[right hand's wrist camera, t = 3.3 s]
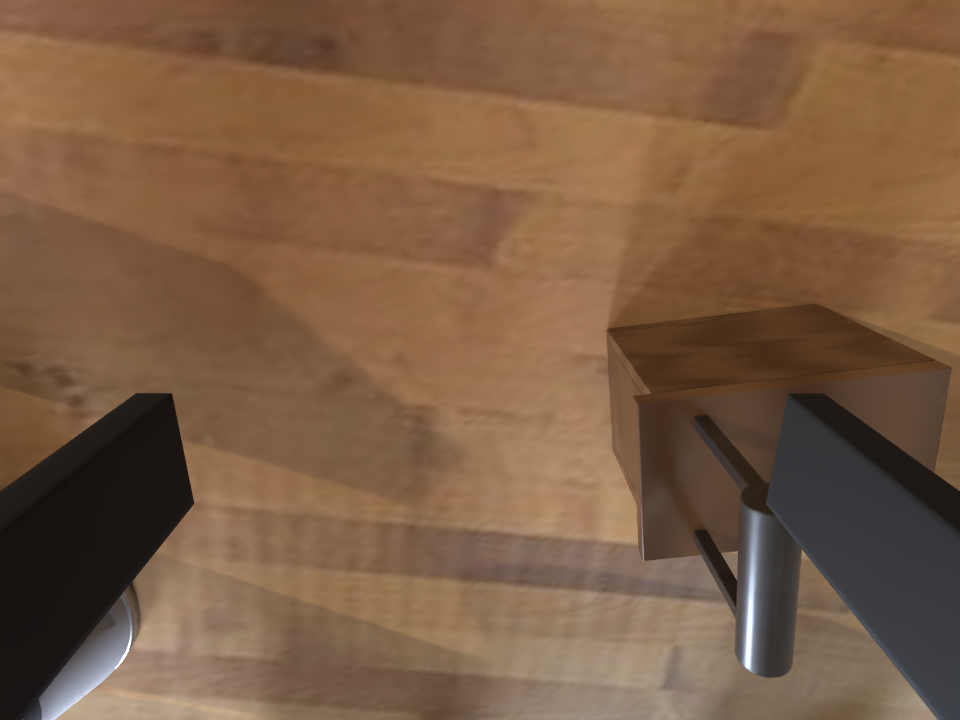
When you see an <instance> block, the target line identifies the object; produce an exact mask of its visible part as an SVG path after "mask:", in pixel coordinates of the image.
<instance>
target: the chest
mask: <svg viewBox="0 0 960 720" xmlns="http://www.w3.org/2000/svg"><path fill="white" fill-rule="evenodd" d="M607 347H608V366H609V384H610V403H611V421H612V440H613V452H614V454H615V456H616V459H617V461H618V463H619V465H620V468H621V470H622V472H623V475H624V477H625V479H626V481H627V484H628V486H629V488H630V490H631V493H632V495H633V497H634V500H635V502H636V504H637V496H636V470H635V444H634V419H633V396H635V395H644V394H652V393H661V392H669V391H678V390H687V389H695V388H704V387H713V386H721V385H730V384H738V383H747V382H756V381H764V380H773V379H782V378H790V377H799V376H808V375H816V374H825V373H833V372H842V371H851V370H859V369H868V368H877V367H885V366H894V365H902V364H911V363H920V362H928V361H935V359H933V358H930V357H928V356H926V355H924V354H922V353H920V352H918V351H916V350H913V349H911V348H909V347H907V346H905V345H903V344H901V343H899V342H896V341H894V340H892V339H890V338H888V337H886V336H884V335H881V334H879V333H877V332H875V331H873V330H871V329H869V328H867V327H864V326H862V325H860V324H858V323H856V322H854V321H852V320H850V319H847V318H845V317H843V316H841V315H839V314H837V313H835V312H832V311H830V310H828V309H826V308H824V307H822V306H819V305H817V304H811V305H803V306H794V307H786V308H778V309H769V310H761V311H753V312H745V313H736V314H728V315H720V316H712V317H703V318H695V319H687V320H679V321H670V322H662V323H654V324H646V325H637V326H629V327H621V328H613V329H607Z"/></svg>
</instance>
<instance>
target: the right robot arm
mask: <svg viewBox="0 0 960 720" xmlns="http://www.w3.org/2000/svg"><path fill="white" fill-rule="evenodd" d="M193 504H194V500H193V495H192V490H191V485H190V480H189V475H188V470H187V465H186V460H185V455H184V450H183V446H182V441H181V436H180V431H179V426H178V421H177V416H176V411H175V406H174V401H173V396H172V393H136V394H135V395H133V396H132V397H130V398H129V399H128V400H126V401H125V402H123V403H122V404H121V405H119V406H118V407H117V408H115V409H114V410H112V411H111V412H110V413H108V414H107V415H105V416H104V417H103V418H101V419H100V420H99V421H97V422H96V423H94V424H93V425H92V426H90V427H89V428H87V429H86V430H85V431H83V432H82V433H81V434H79V435H78V436H76V437H75V438H74V439H72V440H71V441H69V442H68V443H67V444H65V445H64V446H63V447H61V448H60V449H58V450H57V451H56V452H54V453H53V454H51V455H50V456H49V457H47V458H46V459H45V460H43V461H42V462H40V463H39V464H38V465H36V466H35V467H33V468H32V469H31V470H29V471H28V472H27V473H25V474H24V475H22V476H21V477H20V478H18V479H17V480H15V481H14V482H13V483H11V484H10V485H9V486H7V487H6V488H4V489H3V490H2V491H0V720H54V719H56V718H57V717H58V716H60V715H61V714H62V713H63V712H65V711H66V710H67V709H68V708H70V707H71V706H72V705H73V704H75V703H76V702H77V701H78V700H80V699H81V698H82V697H83V696H85V695H86V694H87V693H88V692H90V691H91V690H92V689H93V688H95V687H96V686H97V685H99V684H100V683H101V682H102V681H104V680H105V679H106V678H107V677H108V676H109V675H110V674H111V673H112V672H113V671H114V670H115V668H116V667H117V666H118V665H119V664H120V663H121V662H122V660H123V659H124V657H125V656H126V655H127V653H128V652H129V650H130V649H131V647H132V646H133V644H134V642H135V640H136V638H137V635H138V632H139V627H140V610H139V605H138V601H137V598H136V596H135V593H134V591H133V589H132V587H131V585H130V584H131V582H132V581H133V580H134V578H135V577H136V576H137V575H138V573H139V572H140V571H141V570H142V568H143V567H144V566H145V565H146V563H147V562H148V561H149V560H150V558H151V557H152V556H153V555H154V553H155V552H156V551H157V550H158V548H159V547H160V546H161V545H162V543H163V542H164V541H165V540H166V538H167V537H168V536H169V535H170V533H171V532H172V531H173V530H174V528H175V527H176V526H177V525H178V523H179V522H180V521H181V520H182V518H183V517H184V516H185V514H186V513H187V512H188V511H189V509H190V508H191V507H192V506H193ZM766 504H767V506H768V507H769V508H770V509H771V511H772V512H773V513H774V514H775V516H776V517H777V518H778V520H779V521H780V522H781V523H782V525H783V526H784V527H785V528H786V530H787V531H788V532H789V533H790V535H791V536H792V537H793V538H794V540H795V541H796V542H797V543H798V545H799V546H800V547H801V548H802V550H803V551H804V552H805V553H806V555H807V556H808V557H809V558H810V560H811V561H812V562H813V563H814V565H815V566H816V567H817V568H818V570H819V571H820V572H821V573H822V575H823V576H824V577H825V578H826V580H827V581H828V582H829V584H830V585H831V586H832V587H833V589H834V590H835V591H836V592H837V594H838V595H839V596H840V597H841V599H842V600H843V601H844V602H845V604H846V605H847V606H848V607H849V609H850V610H851V611H852V612H853V614H854V615H855V616H856V617H857V619H858V620H859V621H860V622H861V624H862V625H863V626H864V627H865V629H866V630H867V631H868V632H869V634H870V635H871V636H872V637H873V639H874V640H875V641H876V642H877V644H878V645H879V646H880V648H881V649H882V650H883V651H884V653H885V654H886V655H887V656H888V658H889V659H890V660H891V661H892V663H893V664H894V665H895V666H896V668H897V669H898V670H899V671H900V673H901V674H902V675H903V676H904V678H905V679H906V680H907V681H908V683H909V684H910V685H911V686H912V688H913V689H914V690H915V691H916V693H917V694H918V695H919V696H920V698H921V699H922V700H923V701H924V703H925V704H926V705H927V706H928V708H929V709H930V710H931V712H932V713H933V714H934V715H935V717H936V718H937V719H938V720H960V491H958V490H957V489H956V488H954V487H953V486H951V485H950V484H949V483H947V482H946V481H945V480H943V479H942V478H940V477H939V476H938V475H936V474H935V473H933V472H932V471H931V470H929V469H928V468H927V467H925V466H924V465H922V464H921V463H920V462H918V461H917V460H915V459H914V458H913V457H911V456H910V455H909V454H907V453H906V452H904V451H903V450H902V449H900V448H899V447H897V446H896V445H895V444H893V443H892V442H891V441H889V440H888V439H886V438H885V437H884V436H882V435H881V434H879V433H878V432H877V431H875V430H874V429H873V428H871V427H870V426H868V425H867V424H866V423H864V422H863V421H861V420H860V419H859V418H857V417H856V416H855V415H853V414H852V413H850V412H849V411H848V410H846V409H845V408H843V407H842V406H841V405H839V404H838V403H837V402H835V401H834V400H832V399H831V398H830V397H828V396H827V395H825V394H824V393H788V396H787V401H786V406H785V411H784V416H783V421H782V426H781V431H780V436H779V441H778V446H777V450H776V455H775V460H774V465H773V470H772V475H771V480H770V485H769V490H768V495H767V500H766Z"/></svg>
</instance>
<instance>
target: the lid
mask: <svg viewBox="0 0 960 720" xmlns="http://www.w3.org/2000/svg"><path fill="white" fill-rule="evenodd" d="M950 375H951V367H949V366H947V365H945V364H943V363H941V362H938V361H928V362H920V363H911V364H902V365H894V366H885V367H877V368H868V369H859V370H851V371H842V372H833V373H825V374H816V375H808V376H799V377H790V378H782V379H773V380H764V381H756V382H747V383H738V384H730V385H721V386H713V387H704V388H695V389H687V390H678V391H669V392H661V393H652V394H644V395H635V396H633V419H634V444H635V470H636V496H637V521H638V547H639V551H640V554H641V556H642V559H643V561H648V560H658V559H667V558H677V557H687V556H696V555H702V557H703V559H704V561H705V563H706V564H707V566H708V568H709V570H710V572H711V574H712V575H713V577H714V579H715V581H716V583H717V585H718V586H719V588H720V590H721V592H722V594H723V596H724V598H725V599H726V601H727V603H728V605H729V607H730V609H731V610H732V612H733V614H734V616H735V618H736V632H735V653H736V656H737V658H738V660H739V661H740V663H741V664H742V665H743V666H744V667H745V668H746V669H748V670H749V671H751V672H752V673H754V674H756V675H759V676H762V677H767V678H777V677H781V676H783V675H785V674H787V673H788V672H789V671H790V669H791V667H792V664H793V652H794V639H795V627H796V614H797V602H798V589H799V577H800V564H801V552H802V548H801V547H800V546H799V545H798V543H797V542H796V541H795V540H794V538H793V537H792V536H791V535H790V533H789V532H788V531H787V530H786V528H785V527H784V526H783V525H782V523H781V522H780V521H779V520H778V518H777V517H776V516H775V514H774V513H773V512H772V511H771V509H770V508H769V507H768V506H767V504H766V500H767V495H768V490H769V485H770V480H771V475H772V470H773V465H774V460H775V455H776V450H777V446H778V441H779V436H780V431H781V426H782V421H783V416H784V411H785V406H786V401H787V396H788V393H824V394H825V395H827V396H828V397H830V398H831V399H832V400H834V401H835V402H837V403H838V404H839V405H841V406H842V407H843V408H845V409H846V410H848V411H849V412H850V413H852V414H853V415H855V416H856V417H857V418H859V419H860V420H861V421H863V422H864V423H866V424H867V425H868V426H870V427H871V428H873V429H874V430H875V431H877V432H878V433H879V434H881V435H882V436H884V437H885V438H886V439H888V440H889V441H891V442H892V443H893V444H895V445H896V446H897V447H899V448H900V449H902V450H903V451H904V452H906V453H907V454H909V455H910V456H911V457H913V458H914V459H915V460H917V461H918V462H920V463H921V464H922V465H924V466H925V467H927V468H928V469H929V470H931V471H932V472H933V473H934V471H935V465H936V459H937V453H938V447H939V441H940V435H941V429H942V423H943V417H944V411H945V405H946V399H947V393H948V387H949V381H950ZM735 551H738V573H737V580H736V578H735V577H734V575H733V573H732V572H731V570H730V568H729V567H728V565H727V563H726V561H725V560H724V558H723V556H722V555H721V553H725V552H735Z"/></svg>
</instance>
